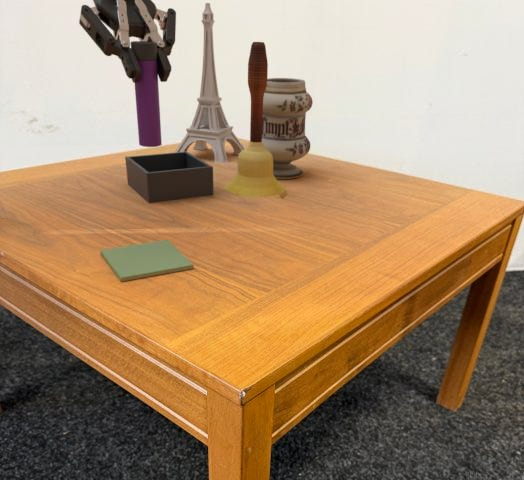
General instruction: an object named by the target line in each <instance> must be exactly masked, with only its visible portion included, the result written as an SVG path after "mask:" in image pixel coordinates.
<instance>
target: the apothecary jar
mask: <svg viewBox="0 0 524 480" xmlns="http://www.w3.org/2000/svg"><path fill="white" fill-rule="evenodd" d="M313 104H314V103H313V98H312V95H310V94H309V92H308V91H307V88H306V80H304V79H300V78H291V77H269V78H268V77H267V86H266V89H265V93H264V97H263V119H262V144H263V147H264V148H265V149H266V150H268V151H269V152H270V153H271V154H272V157H273V175H274V177H275V178H276V180H291V179H297V178H300V177H303V175H304V171H303V169H302V168H300V167H299V166H296V165H294V164H291V163H292V162H295V161H297V160H298V161H299V160H300V159H302V158H304V157H305V156H307V154H308V153H309V152H310V150H311V142H310V139H309V138H308V136H306V116H307V112H309V111H310V110H311V108H312V106H313Z"/></svg>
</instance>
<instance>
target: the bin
mask: <svg viewBox="0 0 524 480" xmlns="http://www.w3.org/2000/svg"><path fill="white" fill-rule="evenodd" d="M124 160H125V167H126V168H125V169H126V178H127V180H126V181H127V185H128V186H129V187H130V188H131V189H132V190H133V191H135V193H137V194H138V195H139V196H140V197H141V198H142V199H143V200H144V201H145V202H147V203H148V204H153V203H162V202H170V201H177V200H187V199H194V198H201V197H210V196H214V166H213V165H211V164H210V163H207V162H205V161H204V160H202V159H201V158H199V157H197V156H195V155H194V154H192V153H191V152H189V151H187V152H176V153H174V152H166V153H154V154H143V155H142V154H141V155H131V156H130V155H129V156H125V157H124Z"/></svg>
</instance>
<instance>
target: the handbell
mask: <svg viewBox="0 0 524 480" xmlns="http://www.w3.org/2000/svg"><path fill="white" fill-rule="evenodd" d="M266 49H267V48H266V44H265V42H264V41H252V43H251V46H250V52H249V57H248V62H247V86H248V90H249V93H250V94H249V95H250V123H249V124H250V127H249V130H250V131H249V143H248V145H247V147H245V149H244V150H243V151H241V152H240V153H239V155H237V172H236V174H235V175H234V177H233V178H232V179H231V180H230V181H229V182H228V183H226V185H224V190H226V191H227V192H229V193H231V194H234V195H237V196H242V197H252V198H255V197H257V198H263V197H272V196H277V195H279V197H280V199H282V198H284V197H286V195H287V194H288V193H287V190H286V187H285V186H284V185H282V184H281V182H279V181H278V179H276V178H275V177H274V175H273V157H272V154H271V153H270V152H269V151H268V150H266V149H265V148H264V147H263V144H262V119H263V97H264V93H265V89H266V86H267V79H268V71H269V70H268V69H269V68H268V67H269V63H268V56H267V50H266Z"/></svg>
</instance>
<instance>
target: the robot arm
mask: <svg viewBox="0 0 524 480" xmlns="http://www.w3.org/2000/svg"><path fill="white" fill-rule="evenodd" d="M92 1H93V4H94V6H93V7H90V6H89V5H87V4H82V5H81V7H80V14H79V21H78V23H79V26H81V28H82V29H83V30H84V31H85V33H86V34H87V35H88V36H89V38H90V39H91V40H92V41H93V42H94V43H95V45H96V46H97V47H98V48H99V50H100V51H101V52H102V54H104V55H105V56H106V57H111V56H116V57H117V58H118V59H119V60H120V62H121V64H122V67H123V69H124V72H125V75H126V77H127V78H128V79H131V81H132V83H134V84H135V83H139V81H140V78H141V74H142V72H141V68H140V66H139V63H138V60H137V58H136V55H135V53H134V50H133V48H131V41H130V40H131V39H130V38H138V41H147V42H156V43H157V57H158V59H157V70H158V80H159V82H161V83H165V82H168V79H169V77H170V75H171V72H172V64H171V62H170V60H169V57H170V56H171V53H172V49H173V47H174V45H175V44H176V43H175V42H176V31H177V30H176V29H177V28H176V27H177V12H176V10H175V9H174V8H171V7H169V8H168V9H167V11H165V10H162V9H160V8H157V5H156V4H155V2H153V1H152V0H92ZM155 20H156V21H157V23H158V26H159V28H158V26H157V24H156V22H155ZM107 27H108V28H109V29H110V30H112V32H113V33H111V31H110V30H109V29H108V28H107ZM158 29H159V30H161V31H162V36H161V35H160V33H159V30H158Z"/></svg>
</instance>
